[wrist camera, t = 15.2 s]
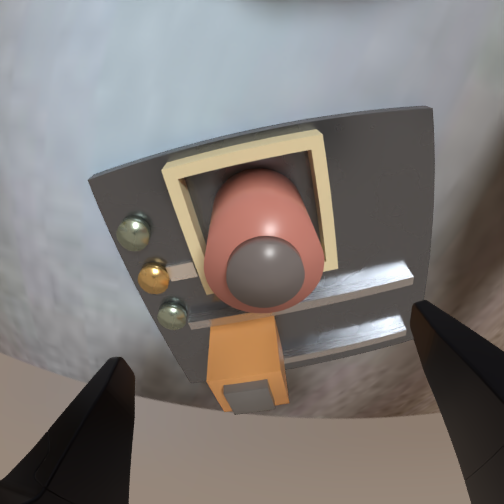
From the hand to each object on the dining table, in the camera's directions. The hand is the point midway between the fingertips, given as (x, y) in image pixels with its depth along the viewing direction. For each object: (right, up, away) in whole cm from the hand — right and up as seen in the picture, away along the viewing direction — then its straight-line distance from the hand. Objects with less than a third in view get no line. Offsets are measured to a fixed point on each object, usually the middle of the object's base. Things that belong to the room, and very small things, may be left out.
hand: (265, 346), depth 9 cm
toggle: (-1, -3, +12) cm, 12 cm away
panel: (+2, +2, +10) cm, 11 cm away
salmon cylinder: (0, +5, +7) cm, 9 cm away
